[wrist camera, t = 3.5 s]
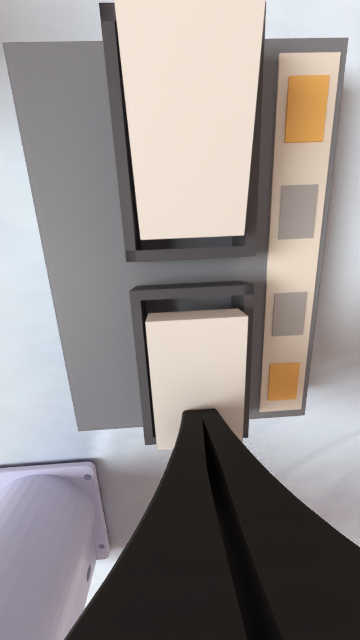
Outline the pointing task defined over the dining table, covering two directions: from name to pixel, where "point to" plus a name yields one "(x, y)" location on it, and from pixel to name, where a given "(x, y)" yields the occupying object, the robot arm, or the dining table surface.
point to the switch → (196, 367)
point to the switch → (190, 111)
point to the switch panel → (177, 253)
